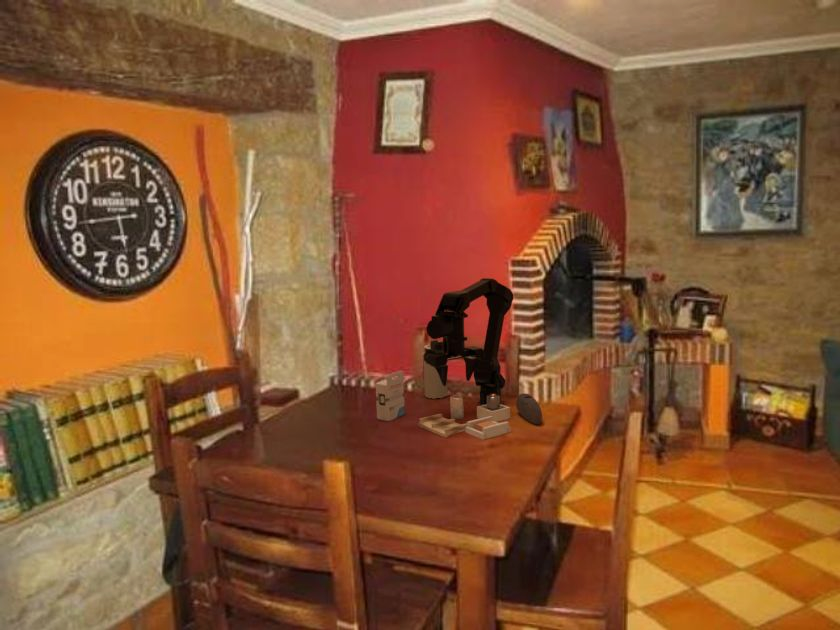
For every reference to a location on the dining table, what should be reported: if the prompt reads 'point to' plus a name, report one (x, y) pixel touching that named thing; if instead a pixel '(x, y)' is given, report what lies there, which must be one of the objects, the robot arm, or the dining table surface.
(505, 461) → the dining table surface
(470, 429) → the cradle
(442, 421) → the troughs
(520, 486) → the dining table surface
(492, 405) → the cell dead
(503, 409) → the bin
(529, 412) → the perforated stone tool
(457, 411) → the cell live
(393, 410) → the ink box
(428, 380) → the travel mug
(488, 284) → the robot arm
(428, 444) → the dining table surface
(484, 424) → the pad
